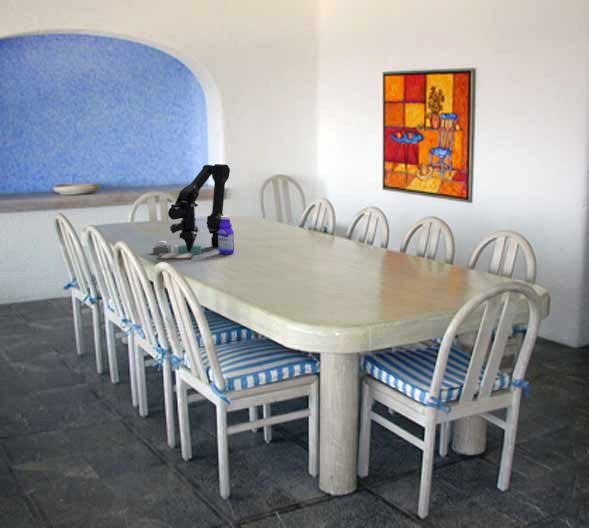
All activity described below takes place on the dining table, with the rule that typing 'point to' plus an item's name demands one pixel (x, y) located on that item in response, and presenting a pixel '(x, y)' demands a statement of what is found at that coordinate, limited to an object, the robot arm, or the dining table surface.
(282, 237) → the dining table surface
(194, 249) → the teal and white bar
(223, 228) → the bottle
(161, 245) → the button
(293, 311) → the dining table surface
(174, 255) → the wooden picture frame
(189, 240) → the robot arm
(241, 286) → the dining table surface
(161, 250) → the button base
